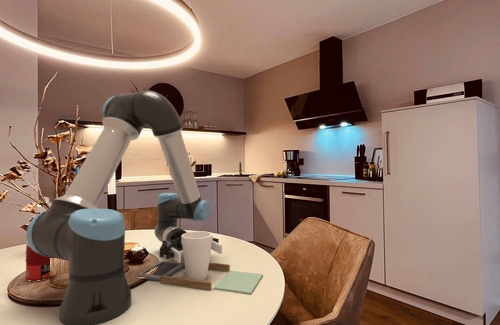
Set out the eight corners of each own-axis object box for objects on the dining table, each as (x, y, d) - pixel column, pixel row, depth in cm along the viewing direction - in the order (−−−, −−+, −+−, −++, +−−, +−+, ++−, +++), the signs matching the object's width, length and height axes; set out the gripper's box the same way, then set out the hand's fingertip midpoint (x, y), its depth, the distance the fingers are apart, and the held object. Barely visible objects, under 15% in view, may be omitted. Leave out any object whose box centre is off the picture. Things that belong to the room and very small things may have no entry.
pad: (251, 294, 73) (251, 292, 73) (213, 289, 76) (213, 287, 76) (262, 275, 85) (262, 274, 85) (230, 271, 89) (230, 270, 89)
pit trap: (162, 281, 81) (162, 277, 81) (136, 278, 83) (136, 274, 83) (184, 266, 93) (184, 263, 93) (162, 263, 96) (162, 260, 96)
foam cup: (179, 273, 87) (179, 232, 88) (207, 269, 91) (207, 230, 91) (184, 285, 79) (184, 240, 79) (215, 280, 82) (215, 236, 82)
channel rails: (210, 290, 75) (210, 283, 75) (160, 283, 80) (160, 276, 80) (229, 270, 90) (229, 264, 90) (186, 265, 94) (186, 259, 94)
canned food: (45, 282, 81) (45, 245, 81) (18, 282, 81) (19, 244, 81) (63, 272, 88) (63, 238, 89) (39, 272, 89) (39, 238, 89)
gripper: (207, 243, 107) (236, 258, 89) (140, 255, 92) (159, 275, 75) (207, 223, 107) (236, 235, 90) (140, 232, 92) (159, 248, 75)
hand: (201, 253), depth 82 cm, fingers open, 13 cm apart
